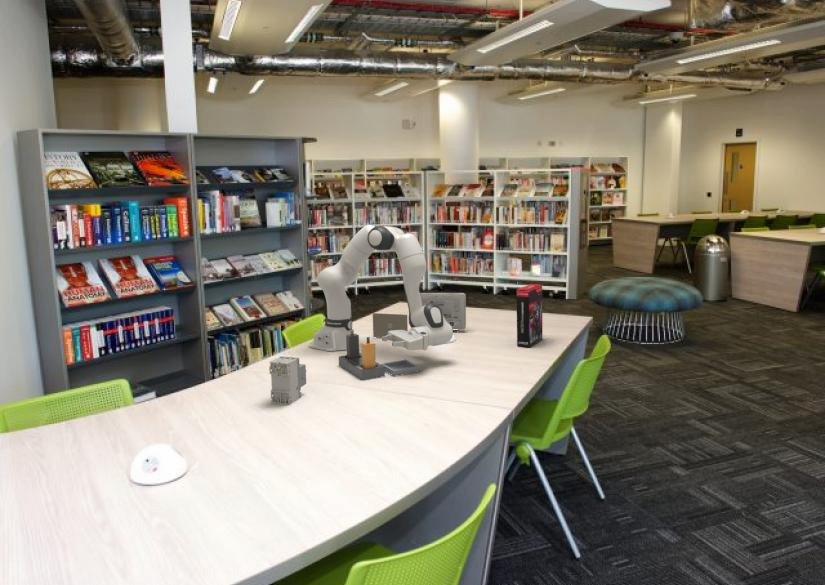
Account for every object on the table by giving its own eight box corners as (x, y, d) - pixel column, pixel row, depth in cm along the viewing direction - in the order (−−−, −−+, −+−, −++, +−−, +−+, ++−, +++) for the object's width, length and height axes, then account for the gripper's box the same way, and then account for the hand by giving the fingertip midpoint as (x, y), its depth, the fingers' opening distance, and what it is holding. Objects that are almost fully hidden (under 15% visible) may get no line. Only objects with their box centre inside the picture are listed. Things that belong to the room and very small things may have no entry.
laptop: (415, 334, 328) (414, 309, 326) (407, 340, 317) (407, 314, 314) (381, 332, 334) (380, 308, 331) (373, 338, 322) (372, 313, 319)
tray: (380, 368, 269) (380, 363, 269) (406, 364, 275) (406, 359, 275) (393, 376, 259) (393, 371, 259) (419, 371, 265) (419, 366, 264)
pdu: (338, 365, 275) (338, 356, 275) (360, 362, 280) (360, 352, 279) (362, 380, 255) (361, 370, 254) (384, 376, 259) (384, 366, 259)
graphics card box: (529, 348, 297) (530, 290, 292) (515, 346, 301) (515, 289, 296) (542, 340, 311) (543, 284, 307) (529, 338, 315) (530, 283, 310)
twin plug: (347, 362, 274) (345, 329, 272) (356, 360, 276) (355, 328, 274) (350, 364, 272) (348, 330, 269) (359, 362, 274) (358, 329, 271)
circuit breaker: (309, 392, 242) (307, 353, 239) (289, 404, 229) (287, 363, 226) (291, 390, 244) (289, 351, 242) (271, 402, 231) (268, 362, 228)
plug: (362, 371, 261) (361, 337, 258) (372, 370, 263) (371, 335, 260) (365, 374, 258) (364, 338, 255) (375, 372, 260) (374, 337, 257)
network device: (466, 330, 335) (465, 292, 331) (465, 334, 326) (465, 295, 323) (416, 330, 337) (416, 292, 334) (415, 334, 329) (414, 295, 325)
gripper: (405, 325, 278) (376, 328, 271) (429, 335, 260) (398, 339, 253) (405, 339, 279) (376, 343, 272) (429, 350, 261) (398, 355, 255)
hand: (387, 341), depth 263 cm, fingers open, 8 cm apart
